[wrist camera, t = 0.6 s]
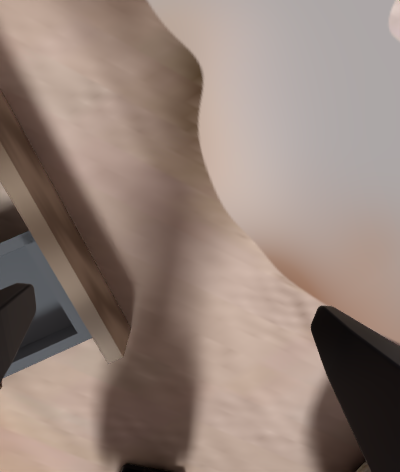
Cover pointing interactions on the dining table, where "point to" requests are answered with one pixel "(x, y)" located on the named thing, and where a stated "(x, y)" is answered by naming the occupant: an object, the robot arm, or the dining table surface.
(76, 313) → the box
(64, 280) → the walled lane
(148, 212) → the dining table surface
